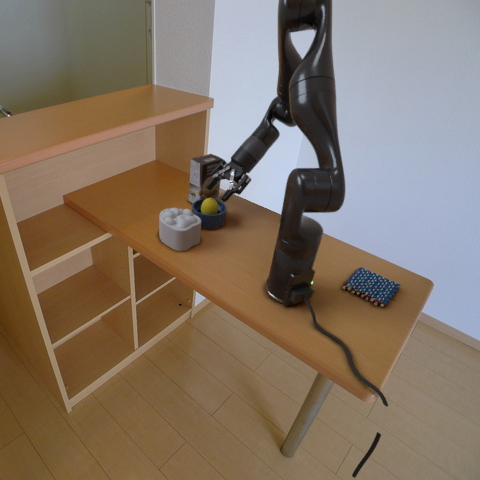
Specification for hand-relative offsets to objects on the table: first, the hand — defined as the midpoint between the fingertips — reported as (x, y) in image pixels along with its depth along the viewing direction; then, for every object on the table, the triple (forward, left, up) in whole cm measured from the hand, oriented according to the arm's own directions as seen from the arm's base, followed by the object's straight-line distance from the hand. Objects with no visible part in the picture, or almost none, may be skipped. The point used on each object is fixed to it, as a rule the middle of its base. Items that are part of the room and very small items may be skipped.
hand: (214, 194), depth 114 cm
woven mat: (-44, -23, -10) cm, 50 cm away
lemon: (0, +1, -9) cm, 9 cm away
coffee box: (+13, -3, -10) cm, 16 cm away
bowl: (0, +2, -9) cm, 10 cm away
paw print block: (-5, +15, -10) cm, 18 cm away
